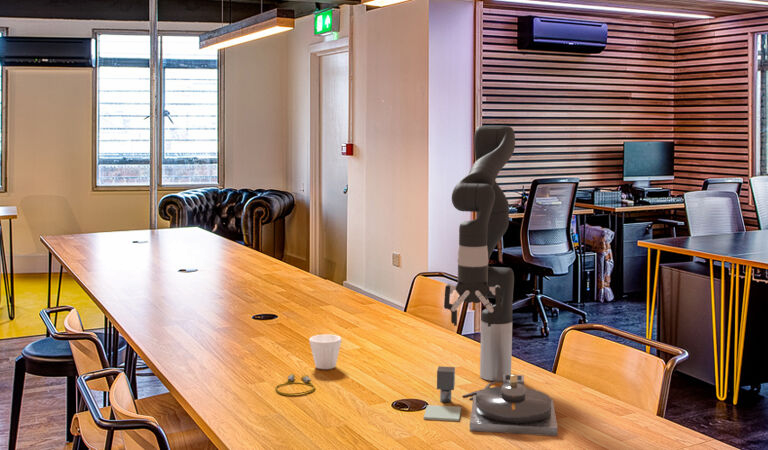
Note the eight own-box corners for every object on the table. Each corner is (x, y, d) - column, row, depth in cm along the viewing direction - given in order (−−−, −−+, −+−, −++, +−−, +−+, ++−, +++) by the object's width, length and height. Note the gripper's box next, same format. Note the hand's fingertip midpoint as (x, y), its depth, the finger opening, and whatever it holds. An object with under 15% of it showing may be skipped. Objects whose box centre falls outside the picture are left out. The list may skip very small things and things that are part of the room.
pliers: (527, 385, 225) (491, 403, 210) (526, 387, 226) (491, 406, 210) (497, 378, 231) (460, 396, 216) (497, 381, 232) (460, 399, 216)
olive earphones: (328, 383, 229) (328, 376, 229) (302, 400, 215) (302, 392, 215) (292, 378, 234) (292, 371, 234) (264, 394, 220) (264, 387, 220)
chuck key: (438, 398, 215) (438, 366, 214) (454, 399, 215) (454, 367, 214) (436, 403, 211) (437, 371, 210) (453, 404, 210) (453, 372, 209)
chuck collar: (477, 394, 212) (477, 362, 210) (549, 398, 209) (549, 365, 208) (474, 420, 192) (474, 384, 191) (553, 425, 189) (554, 389, 188)
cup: (340, 372, 239) (340, 342, 238) (307, 372, 239) (307, 342, 238) (342, 362, 249) (342, 334, 248) (311, 362, 249) (311, 334, 248)
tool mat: (427, 407, 208) (427, 405, 208) (461, 409, 207) (461, 406, 207) (423, 419, 199) (423, 416, 199) (458, 421, 198) (458, 419, 198)
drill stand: (473, 402, 212) (473, 395, 212) (552, 406, 209) (552, 399, 209) (469, 430, 192) (469, 422, 191) (557, 436, 188) (557, 428, 188)
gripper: (501, 260, 199) (500, 322, 201) (445, 259, 201) (445, 321, 203) (501, 266, 192) (500, 330, 194) (443, 264, 194) (443, 328, 196)
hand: (472, 325), depth 199 cm, fingers open, 8 cm apart
